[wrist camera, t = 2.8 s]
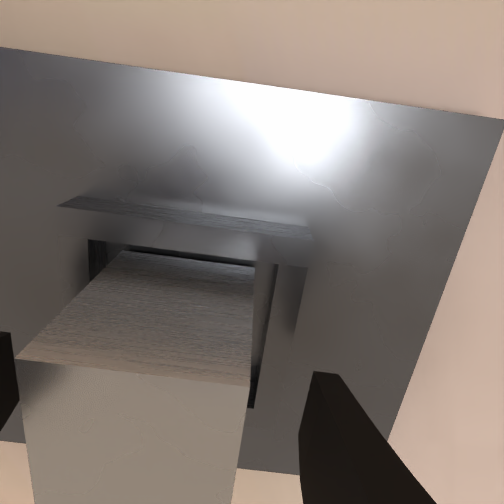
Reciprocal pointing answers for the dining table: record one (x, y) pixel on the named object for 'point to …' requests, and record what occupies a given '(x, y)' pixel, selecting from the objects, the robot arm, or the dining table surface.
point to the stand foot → (241, 217)
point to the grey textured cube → (141, 385)
